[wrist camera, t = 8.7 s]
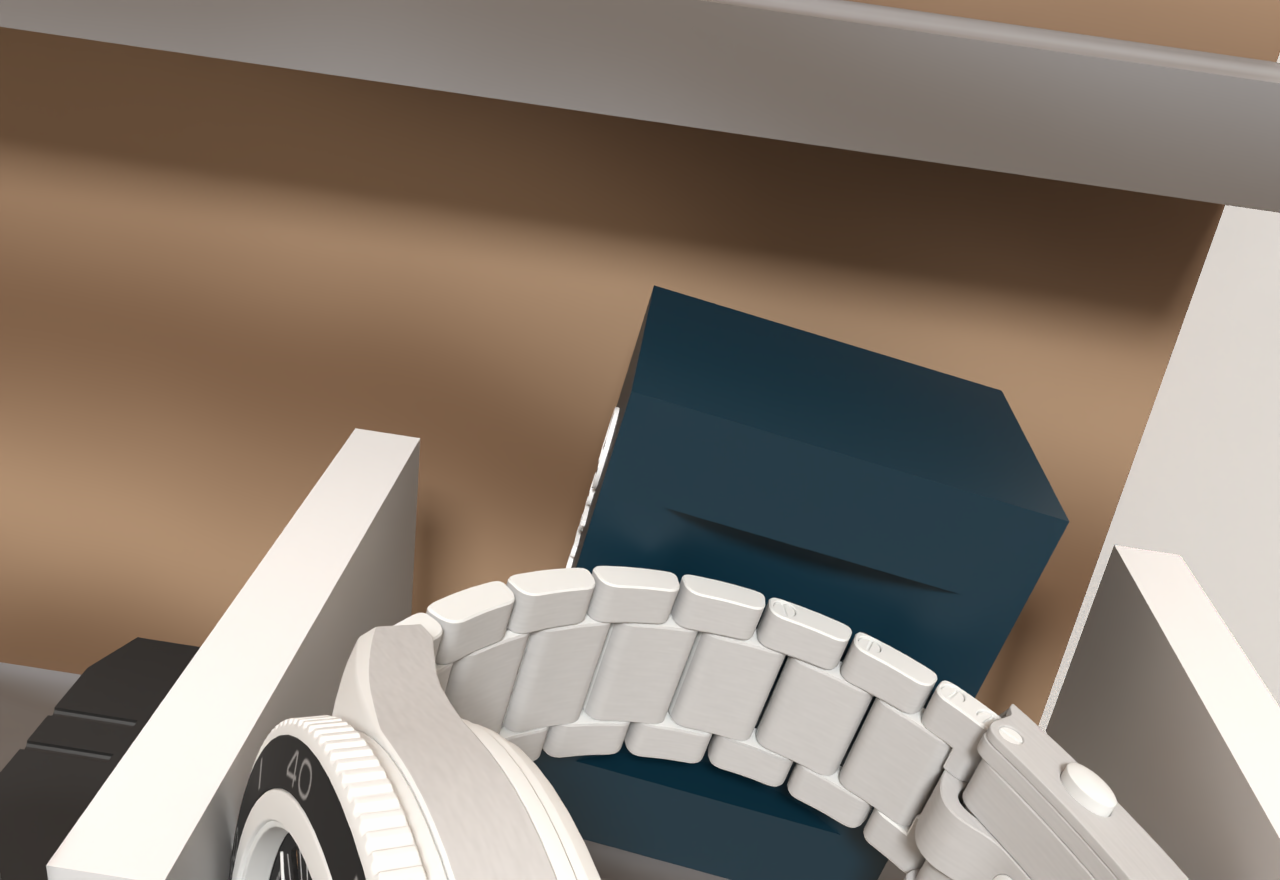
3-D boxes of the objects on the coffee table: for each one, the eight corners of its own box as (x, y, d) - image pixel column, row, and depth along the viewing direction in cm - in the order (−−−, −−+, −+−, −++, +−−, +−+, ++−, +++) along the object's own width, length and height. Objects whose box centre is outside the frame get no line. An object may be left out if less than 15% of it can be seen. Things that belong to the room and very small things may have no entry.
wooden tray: (948, 869, 21) (991, 1073, 17) (-335, 670, 21) (-553, 829, 18) (1272, -88, 14) (1457, -79, 10) (-656, -360, 14) (-1126, -442, 11)
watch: (491, 236, 13) (-226, 1254, 3) (1140, 433, 14) (2171, 1840, 4) (401, 617, 16) (-166, 1846, 6) (954, 773, 16) (1289, 2162, 6)
